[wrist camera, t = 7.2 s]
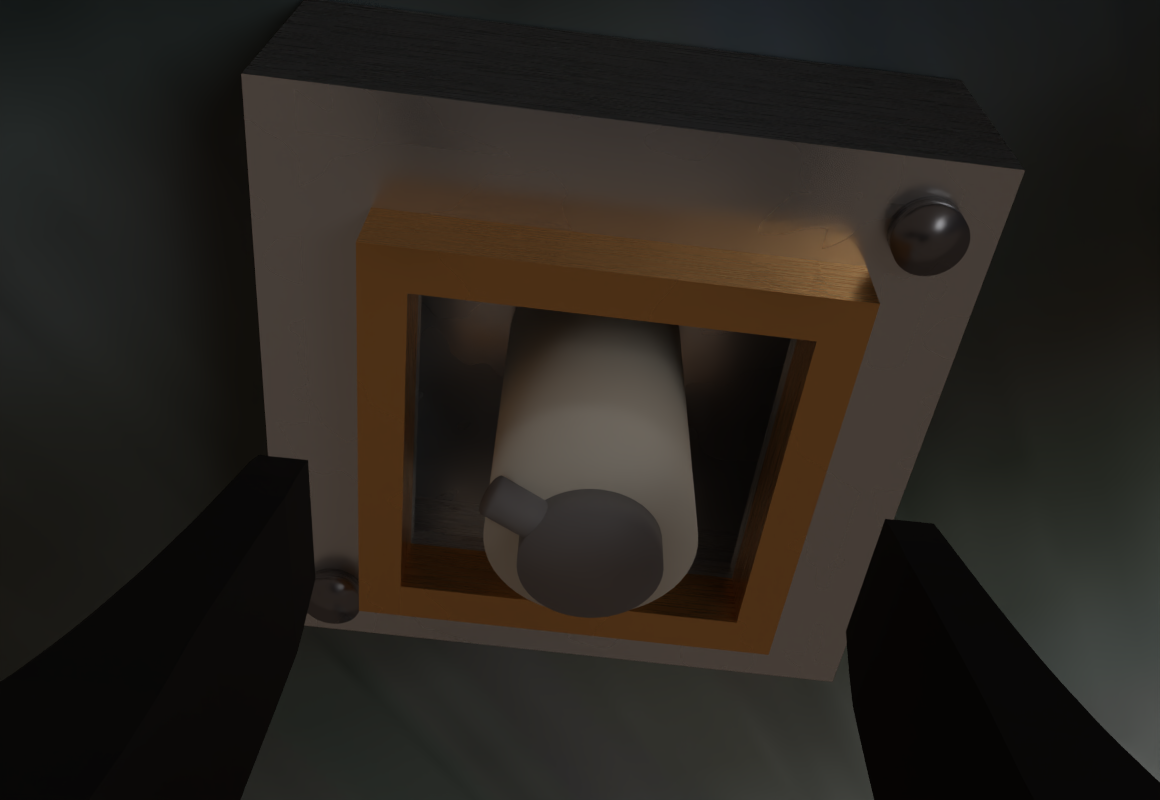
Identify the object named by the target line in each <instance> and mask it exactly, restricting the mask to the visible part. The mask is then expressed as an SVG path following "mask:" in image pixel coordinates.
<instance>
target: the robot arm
mask: <svg viewBox="0 0 1160 800" xmlns="http://www.w3.org/2000/svg"><path fill="white" fill-rule="evenodd" d="M314 583H315V563H314V547H313V531H312V515H311V499H310V483H309V467H308V460H303V459H293V458H283V457H273V456H264V455H258V456H257V457H256V458H254V459H253V460H251V461H250V462H249V463H248V464H247V465H246V466H245V468H244V469H243V470H242V471H241V472H240V473H239V474H238V475H237V476H236V477H235V478H234V479H233V480H232V481H231V482H230V483H229V485H228V486H227V487H226V488H225V489H224V490H223V491H222V492H221V493H220V494H219V495H218V496H217V497H216V498H215V499H214V500H213V501H212V502H211V503H210V504H209V505H208V506H207V507H206V508H205V510H204V511H203V512H202V513H201V514H200V515H199V516H198V517H197V518H196V519H195V520H194V521H193V522H192V523H191V524H190V525H189V526H188V527H187V528H186V529H185V530H184V531H183V532H181V533H180V534H179V535H178V536H177V537H176V538H175V539H174V540H173V541H172V542H171V543H170V544H169V545H168V546H167V547H166V548H165V549H164V550H163V551H162V552H161V553H160V554H158V555H157V556H156V557H155V558H154V559H153V560H152V561H151V562H150V563H149V564H148V565H147V566H146V567H145V568H144V569H143V570H141V571H140V572H139V573H138V574H137V575H136V576H135V577H134V578H132V579H131V580H130V581H129V582H128V583H127V584H126V585H124V586H123V587H122V588H121V589H120V590H119V591H117V592H116V593H115V594H114V595H113V596H112V597H110V598H109V599H108V600H107V601H106V602H105V603H104V604H102V605H101V606H100V607H99V608H98V609H97V610H95V611H94V612H93V613H92V614H91V615H90V616H88V617H87V618H86V619H85V620H83V621H82V622H81V623H80V624H78V625H77V626H76V627H75V628H73V629H72V630H71V631H70V632H68V633H67V634H66V635H65V636H63V637H62V638H61V639H59V640H58V641H57V642H55V643H54V644H53V645H52V646H50V647H49V648H47V649H46V650H45V651H43V652H42V653H41V654H39V655H38V656H37V657H35V658H34V659H32V660H31V661H30V662H28V663H27V664H26V665H24V666H23V667H22V668H20V669H19V670H17V671H16V672H15V673H13V674H12V675H10V676H9V677H7V678H6V679H4V680H3V681H1V682H0V800H240V799H241V797H242V794H243V791H244V789H245V786H246V784H247V781H248V779H249V776H250V773H251V771H252V768H253V766H254V763H255V761H256V758H257V755H258V753H259V750H260V748H261V745H262V743H263V740H264V737H265V735H266V732H267V730H268V727H269V725H270V722H271V719H272V717H273V714H274V712H275V709H276V706H277V704H278V701H279V699H280V696H281V693H282V691H283V688H284V686H285V683H286V680H287V678H288V675H289V672H290V670H291V667H292V664H293V662H294V659H295V656H296V654H297V651H298V647H299V643H300V639H301V635H302V632H303V628H304V624H305V620H306V616H307V612H308V608H309V603H310V599H311V595H312V591H313V587H314ZM846 640H847V652H848V663H849V674H850V683H851V693H852V702H853V708H854V713H855V718H856V722H857V727H858V731H859V736H860V740H861V745H862V749H863V753H864V758H865V762H866V766H867V771H868V775H869V779H870V784H871V788H872V792H873V796H874V800H1160V782H1159V781H1158V780H1157V779H1155V778H1154V777H1153V776H1152V775H1151V774H1150V773H1149V772H1148V771H1147V770H1146V769H1145V768H1144V767H1143V766H1142V765H1141V764H1140V763H1139V762H1138V761H1137V760H1135V759H1134V758H1133V757H1132V756H1131V755H1130V754H1129V753H1128V752H1127V751H1126V750H1125V749H1124V748H1123V747H1122V746H1121V745H1120V744H1119V743H1118V742H1117V741H1116V740H1115V739H1114V738H1113V737H1112V736H1111V735H1110V734H1109V733H1108V732H1107V731H1106V730H1105V729H1104V728H1103V727H1102V726H1101V725H1100V724H1099V723H1098V722H1097V721H1096V720H1095V719H1094V718H1093V717H1092V715H1091V714H1090V713H1089V712H1088V711H1087V710H1086V709H1085V708H1084V707H1083V706H1082V705H1081V704H1080V702H1079V701H1078V700H1077V699H1076V698H1075V697H1074V696H1073V695H1072V694H1071V693H1070V692H1069V691H1068V689H1067V688H1066V687H1065V686H1064V685H1063V684H1062V683H1061V682H1060V681H1059V680H1058V678H1057V677H1056V676H1055V675H1054V674H1053V673H1052V671H1051V670H1050V669H1049V668H1048V667H1047V666H1046V665H1045V663H1044V662H1043V661H1042V660H1041V659H1040V658H1039V656H1038V655H1037V654H1036V653H1035V652H1034V651H1033V649H1032V648H1031V647H1030V646H1029V645H1028V643H1027V642H1026V641H1025V640H1024V638H1023V637H1022V636H1021V635H1020V634H1019V632H1018V631H1017V630H1016V629H1015V628H1014V626H1013V625H1012V624H1011V623H1010V621H1009V620H1008V619H1007V618H1006V616H1005V615H1004V614H1003V613H1002V611H1001V610H1000V609H999V608H998V606H997V605H996V604H995V603H994V601H993V600H992V599H991V597H990V596H989V595H988V594H987V592H986V591H985V590H984V588H983V587H982V586H981V585H980V583H979V582H978V581H977V579H976V578H975V577H974V575H973V574H972V573H971V572H970V570H969V569H968V568H967V566H966V565H965V564H964V562H963V561H962V560H961V558H960V557H959V556H958V555H957V553H956V552H955V551H954V549H953V548H952V547H951V545H950V544H949V543H948V542H947V540H946V539H945V538H944V536H943V535H942V534H941V533H940V531H939V530H938V529H937V527H936V526H935V525H934V524H931V523H921V522H911V521H901V520H891V519H885V521H884V524H883V527H882V529H881V532H880V535H879V538H878V541H877V544H876V547H875V549H874V552H873V555H872V558H871V561H870V564H869V567H868V569H867V572H866V575H865V578H864V581H863V584H862V587H861V589H860V592H859V595H858V598H857V601H856V604H855V606H854V609H853V612H852V615H851V618H850V621H849V624H848V626H847V629H846Z"/></svg>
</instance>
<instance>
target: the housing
mask: <svg viewBox="0 0 1160 800" xmlns="http://www.w3.org/2000/svg"><path fill="white" fill-rule="evenodd" d="M241 77H242V91H243V106H244V120H245V134H246V148H247V163H248V177H249V191H250V205H251V219H252V234H253V248H254V262H255V276H256V291H257V305H258V319H259V333H260V348H261V362H262V376H263V390H264V404H265V419H266V433H267V447H268V456H273V457H283V458H293V459H303V460H308V467H309V483H310V499H311V515H312V531H313V547H314V563H315V583H314V587H313V591H312V595H311V599H310V603H309V608H308V612H307V616H306V620H305V624H304V625H305V626H315V627H324V628H333V629H343V630H352V631H361V632H371V633H380V634H390V635H399V636H408V637H418V638H427V639H436V640H446V641H455V642H465V643H474V644H483V645H493V646H502V647H512V648H521V649H530V650H540V651H549V652H558V653H568V654H577V655H587V656H596V657H605V658H615V659H624V660H633V661H643V662H652V663H662V664H671V665H680V666H690V667H699V668H708V669H718V670H727V671H737V672H746V673H755V674H765V675H774V676H783V677H793V678H802V679H812V680H821V681H830V682H832V681H833V679H834V676H835V673H836V671H837V668H838V665H839V663H840V660H841V657H842V655H843V652H844V649H845V647H846V644H847V640H846V629H847V626H848V624H849V621H850V618H851V615H852V612H853V609H854V606H855V604H856V601H857V598H858V595H859V592H860V589H861V587H862V584H863V581H864V578H865V575H866V572H867V569H868V567H869V564H870V561H871V558H872V555H873V552H874V549H875V547H876V544H877V541H878V538H879V535H880V532H881V529H882V527H883V524H884V521H885V519H891V520H894V517H895V514H896V512H897V509H898V506H899V504H900V501H901V498H902V496H903V493H904V490H905V488H906V485H907V482H908V480H909V477H910V474H911V472H912V469H913V466H914V464H915V461H916V459H917V456H918V453H919V451H920V448H921V445H922V443H923V440H924V437H925V435H926V432H927V429H928V427H929V424H930V421H931V419H932V416H933V413H934V411H935V408H936V405H937V403H938V400H939V398H940V395H941V392H942V390H943V387H944V384H945V382H946V379H947V376H948V374H949V371H950V368H951V366H952V363H953V360H954V358H955V355H956V352H957V350H958V347H959V345H960V342H961V339H962V337H963V334H964V331H965V329H966V326H967V323H968V321H969V318H970V315H971V313H972V310H973V307H974V305H975V302H976V299H977V297H978V294H979V291H980V289H981V286H982V284H983V281H984V278H985V276H986V273H987V270H988V268H989V265H990V262H991V260H992V257H993V254H994V252H995V249H996V246H997V244H998V241H999V238H1000V236H1001V233H1002V230H1003V228H1004V225H1005V223H1006V220H1007V217H1008V215H1009V212H1010V209H1011V207H1012V204H1013V201H1014V199H1015V196H1016V193H1017V191H1018V188H1019V185H1020V183H1021V180H1022V177H1023V175H1024V172H1025V169H1024V168H1023V167H1022V165H1021V164H1020V162H1019V161H1018V159H1017V158H1016V157H1015V155H1014V154H1013V152H1012V151H1011V150H1010V148H1009V147H1008V145H1007V144H1006V143H1005V141H1004V140H1003V138H1002V137H1001V136H1000V134H999V133H998V131H997V130H996V129H995V127H994V126H993V124H992V123H991V122H990V120H989V119H988V117H987V116H986V114H985V113H984V112H983V110H982V109H981V107H980V106H979V105H978V103H977V102H976V100H975V99H974V98H973V96H972V95H971V93H970V92H969V91H968V89H967V88H966V86H965V85H964V84H963V82H962V81H961V80H953V79H945V78H937V77H929V76H921V75H913V74H905V73H897V72H889V71H881V70H873V69H865V68H857V67H849V66H842V65H834V64H826V63H818V62H810V61H802V60H794V59H786V58H778V57H770V56H762V55H754V54H746V53H738V52H730V51H723V50H715V49H707V48H699V47H691V46H683V45H675V44H667V43H659V42H651V41H643V40H635V39H627V38H619V37H611V36H604V35H596V34H588V33H580V32H572V31H564V30H556V29H548V28H540V27H532V26H524V25H516V24H508V23H500V22H492V21H485V20H477V19H469V18H461V17H453V16H445V15H437V14H429V13H421V12H413V11H405V10H397V9H389V8H381V7H373V6H366V5H358V4H350V3H342V2H334V1H326V0H304V1H303V2H302V3H301V5H300V6H299V7H298V8H297V9H296V10H295V12H294V13H293V14H292V15H291V16H290V17H289V18H288V20H287V21H286V22H285V23H284V24H283V25H282V27H281V28H280V29H279V30H278V31H277V32H276V34H275V35H274V36H273V37H272V38H271V39H270V41H269V42H268V43H267V44H266V45H265V46H264V48H263V49H262V50H261V51H260V52H259V53H258V55H257V56H256V57H255V58H254V59H253V60H252V62H251V63H250V64H249V65H248V66H247V67H246V69H245V70H244V71H243V72H242V73H241ZM518 306H519V307H527V308H536V309H544V310H553V311H561V312H570V313H579V314H587V315H596V316H604V317H613V318H621V319H630V320H638V321H647V322H655V323H664V324H672V325H679V331H680V340H681V351H682V362H683V373H684V384H685V395H686V406H687V417H688V428H689V439H690V450H691V461H692V472H693V483H694V494H695V505H696V516H697V527H698V547H697V552H696V556H695V559H694V561H693V564H692V565H691V567H690V569H689V571H688V572H687V574H686V575H685V576H684V577H683V579H682V580H681V581H680V582H679V583H678V584H677V585H676V586H675V587H674V588H673V589H671V590H670V591H669V592H667V593H666V594H664V595H663V596H661V597H660V598H658V599H656V600H654V601H652V602H650V603H648V604H645V605H643V606H641V607H637V608H634V609H631V610H629V611H626V612H624V613H620V614H617V615H613V616H608V617H599V618H584V617H575V616H570V615H566V614H562V613H559V612H556V611H553V610H551V609H549V608H547V607H544V606H542V605H539V604H537V603H534V602H532V601H530V600H528V599H526V598H525V597H523V596H521V595H520V594H518V593H517V592H515V591H514V590H513V589H511V588H510V587H509V586H508V585H507V584H506V583H505V582H504V581H503V580H502V579H501V578H500V577H499V576H498V575H497V573H496V572H495V571H494V569H493V568H492V566H491V564H490V562H489V560H488V558H487V555H486V552H485V547H484V541H483V532H484V523H485V516H483V515H482V514H480V512H479V506H480V502H481V499H482V497H483V495H484V493H485V491H486V489H487V488H488V486H489V485H490V477H491V470H492V462H493V455H494V447H495V439H496V432H497V424H498V417H499V409H500V401H501V394H502V386H503V379H504V371H505V363H506V356H507V348H508V341H509V333H510V327H511V322H512V319H513V316H514V313H515V311H516V309H517V307H518Z"/></svg>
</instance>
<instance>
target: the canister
mask: <svg viewBox="0 0 1160 800" xmlns="http://www.w3.org/2000/svg"><path fill="white" fill-rule="evenodd" d="M479 512H480V514H482V515H483V516H485V523H484V532H483V541H484V547H485V552H486V555H487V558H488V560H489V562H490V564H491V566H492V568H493V569H494V571H495V572H496V573H497V575H498V576H499V577H500V578H501V579H502V580H503V581H504V582H505V583H506V584H507V585H508V586H509V587H510V588H511V589H513V590H514V591H515V592H517V593H518V594H520V595H521V596H523V597H525V598H526V599H528V600H530V601H532V602H534V603H537V604H539V605H542V606H544V607H547V608H549V609H551V610H553V611H556V612H559V613H562V614H566V615H570V616H575V617H584V618H599V617H608V616H613V615H617V614H620V613H624V612H626V611H629V610H631V609H634V608H637V607H641V606H643V605H645V604H648V603H650V602H652V601H654V600H656V599H658V598H660V597H661V596H663V595H664V594H666V593H667V592H669V591H670V590H671V589H673V588H674V587H675V586H676V585H677V584H678V583H679V582H680V581H681V580H682V579H683V577H684V576H685V575H686V574H687V572H688V571H689V569H690V567H691V565H692V564H693V561H694V559H695V556H696V552H697V547H698V527H697V516H696V505H695V494H694V483H693V472H692V461H691V450H690V439H689V428H688V417H687V406H686V395H685V384H684V373H683V362H682V351H681V340H680V331H679V325H672V324H664V323H655V322H647V321H638V320H630V319H621V318H613V317H604V316H596V315H587V314H579V313H570V312H561V311H553V310H544V309H536V308H527V307H519V306H518V307H517V309H516V311H515V313H514V316H513V319H512V322H511V327H510V333H509V341H508V348H507V356H506V363H505V371H504V379H503V386H502V394H501V401H500V409H499V417H498V424H497V432H496V439H495V447H494V455H493V462H492V470H491V477H490V485H489V486H488V488H487V489H486V491H485V493H484V495H483V497H482V499H481V502H480V506H479Z"/></svg>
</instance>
